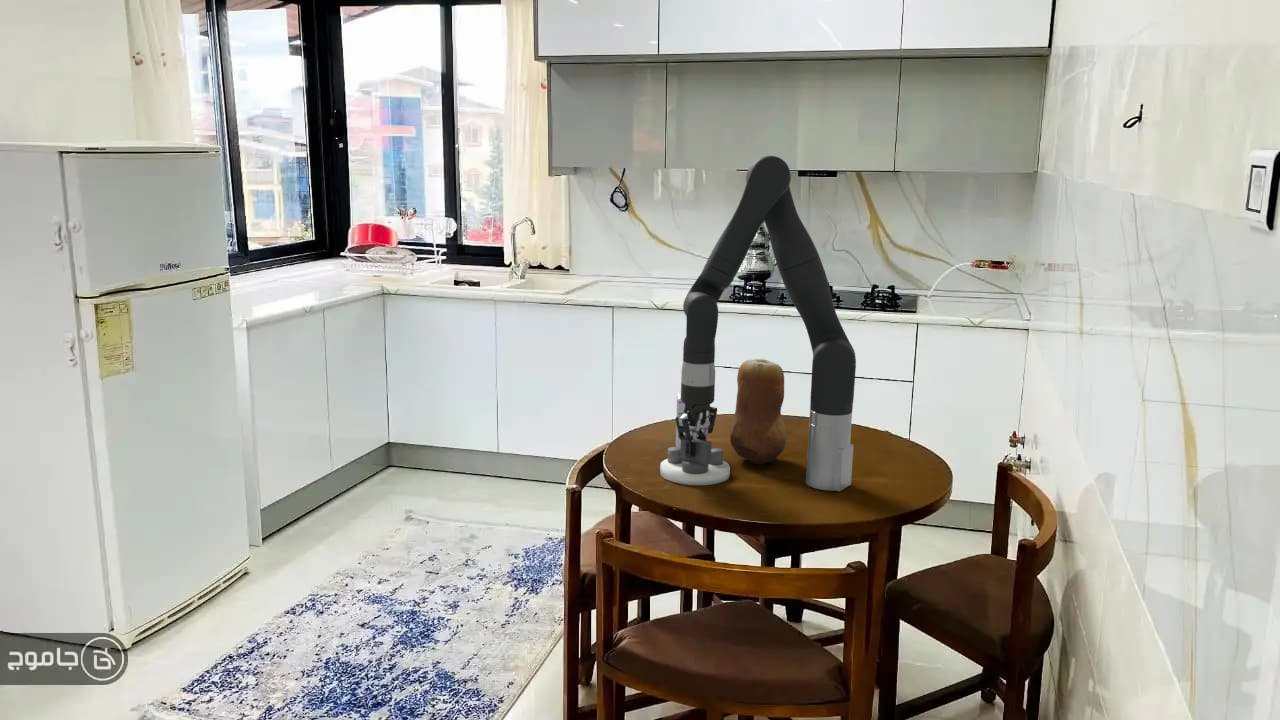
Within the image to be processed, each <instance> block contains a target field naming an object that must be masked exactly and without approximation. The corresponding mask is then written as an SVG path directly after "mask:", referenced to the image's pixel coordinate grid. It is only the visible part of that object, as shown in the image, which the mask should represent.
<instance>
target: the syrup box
mask: <svg viewBox="0 0 1280 720" xmlns="http://www.w3.org/2000/svg"><path fill="white" fill-rule="evenodd" d="M675 402H676V405H675V407H676V409H675V410H676V411H675V412H676V414H675V415H676V417H677V416H679V417H681V416H682V415H683V414H684V409H685V404H684V403H683V402H682V401H681V393H677V394H676V401H675ZM676 417H675V418H676ZM689 427H691V428H695V427H693V426H689ZM683 434H685V433H684V432H683ZM690 434H691V437H692V431H690ZM696 437H698V436H697V435H696ZM675 447H680V448H681V440H680V439H679V434H678V429H677V424H676V423H675Z"/></svg>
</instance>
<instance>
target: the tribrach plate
mask: <svg viewBox="0 0 1280 720" xmlns="http://www.w3.org/2000/svg"><path fill="white" fill-rule="evenodd" d="M680 450H681V448H680V447H676V446H672V447H668V448H667V458H666V459H664V460H662V461H661V462H660V470H659V471H660V472H659V474H660V476H661V478H663V479H664V480H666V481H669V482H672V483H676V484H680V485H689V486H707V485H708V486H711V485H717V484H720V483H721V484H722V483H723V482H726V481H727V480H729V478H730V473H731V467H730V465H729V463H728V462H726V461H724V449H722V448H717V447H715V448H714V447H713V448H712V447H711V463H710V464H709V467H708V472H706V473H702V474H691V473H686V472H684V471H683V470H682V460H681V459H680Z"/></svg>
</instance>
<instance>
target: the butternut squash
mask: <svg viewBox="0 0 1280 720" xmlns="http://www.w3.org/2000/svg"><path fill="white" fill-rule="evenodd" d="M736 377H737V378H736V383H737V391H736V392H737V393H736V403H735V412H734V415H733V418H732V421H731V423H730V427H729V442H730V444H731V447H732V449H733V451H734V452H735V453H736V454H737V456H739V457H741V458H743V459H746V460H747V461H749V462H751V463H752V464H757V465H758V464H759V465H764V464H766V463H771V462H773V461H775V460H777V458H778V457H779V456H780V455H781V454H782V453H783V452H784V449H785V447H786V443H787V432H786V431H787V429H786V426H785V423H784V420H783V417H782V405H783V403H784V400H785V399H784V398H785V374H784V369H783V368H782V367H781V365H779V364H778V363H776V362H772V361H770V360H767V359H764V358H755V359H754V358H753V359H747V360H744V361H743V362H742V363H741V365H740V366H739V368H738V371H737V376H736Z"/></svg>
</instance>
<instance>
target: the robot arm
mask: <svg viewBox="0 0 1280 720" xmlns="http://www.w3.org/2000/svg"><path fill="white" fill-rule="evenodd" d="M791 177H792V174H791V170H790V168H789V165H788V164H787V162H785V160H784V159H782V158H781V157H779V156H774V155H765V156H762V157H759V158H758V159H756V160H754V162H753V163H752V164H751V165H750V166H749V168H748V169H747V172H746V176H745V180H746V181H745V182H746V184H745V187H744V190H743V194H742V196H741V198H740V200H739V204H738V205H737V207H736V209H735V212H734V213H733V215H732V217H731V219H730V221H729V222H728V224H727V225H726V227H725V228H724V230H723V232H722V233H721V235H720V237H719V238H718V240H717V241H716V243H715V245H714V246H713V249H712V250H711V252H710V255H709V256H708V258H707V260H706V263H705V264H704V266H703V269H702V271H701V272H700V274H699V276H697V278H696V280H695V281H694V283H693V284H692V286H691V288H690V289H689V291H688V292H687V294H686V296H685V298H684V301H683V306H682V308H683V313H684V315H685V317H686V328H685V329H686V330H685V331H686V332H685V333H686V335H685V338H684V341H683V346H682V347H683V348H682V349H683V350H682V351H683V355H682V365H681V366H682V367H681V375H680V376H681V377H680V378H681V379H680V380H681V381H680V383H681V384H680V394H681V401H682V402H683V403H684V404H685V409H684V414H683V415H682V416H681V417H679V416H677V417H675V425H676V424H677V429H678V434H679V439H680V440H684V441H685V456H686V457H688V458H694V457H695V447H696V442H695V441H696V439H700V440H705V441H707V438H708V437H709V434H712V433H713V431H714V427H715V423H716V417H717V413H718V408H717V407H715V406H711V405H712V404H713V403H715V392H716V391H715V390H716V388H715V387H716V386H715V384H716V366H715V362H716V361H715V357H716V356H715V355H716V343H715V341H716V335H717V329H718V324H719V323H718V322H719V321H718V320H719V305H718V302H719V300H720V298H721V296H722V295H723V293H724V291H725V290H726V289H727V288H729V287H730V286H731V285H732V283H733V281H734V279H735V278H736V276H737V274H738V272H739V270H740V268H741V266H742V265H743V262H744V260H745V258H746V256H747V254H748V252H749V250H750V248H751V245H752V244H753V241H754V239H755V237H756V235H757V233H758V232H759V229H760V227H761V225H762V224H763V222H764V224H765V226H766V229H767V234H768V238H769V240H770V244H771V245H770V246H771V249H772V252H773V256H774V260H775V262H776V265H777V269H778V271H779V274H780V277H781V280H782V283H783V285H784V287H785V290H786V292H787V294H788V297H789V298H790V300H791V302H792V304H793V305H794V307H795V309H796V310H797V313H798V314H799V315H800V318H801V319H802V321H803V323H804V325H805V330H806V331H807V332H806V333H807V335H808V339H809V343H810V346H811V350H812V355H813V356H812V364H811V385H810V397H809V399H810V404H809V405H810V406H809V420H808V421H809V422H808V423H809V424H808V425H809V426H808V441H807V457H806V473H805V475H806V476H805V483H806V485H807V486H809V488H810V487H811V488H813V489H816V490H821V491H836V492H841V491H843V490H844V489H846V488H848V487H850V486H851V484H852V475H853V462H854V461H853V460H854V444H852V443H851V434H852V421H853V418H852V417H853V409H854V399H855V397H854V396H855V385H856V382H855V381H856V371H857V370H856V368H857V360H856V359H857V358H856V352H855V349H854V347H853V345H852V343H851V342H850V340H849V338H848V336H847V334H846V332H845V330H844V328H843V326H842V324H841V322H840V320H839V319H840V318H839V317H838V314H837V312H836V309H835V304H834V300H833V296H832V292H831V287H830V284H829V281H828V277H827V274H826V271H825V268H824V265H823V262H822V260H821V257H820V254H819V252H818V250H817V247H816V245H815V243H814V241H813V239H812V237H811V236H810V234H809V232H808V230H807V227H805V225H804V223H803V222H802V220H801V218H800V216H799V214H798V212H797V209H796V205H795V202H794V199H793V195H792V191H791V187H790V184H791V180H792V179H791ZM689 426H693V427H695V428H691V427H689ZM690 431H692V437H691V434H690ZM683 432H684V433H685V434H683ZM696 435H697V436H698V437H696Z"/></svg>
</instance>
